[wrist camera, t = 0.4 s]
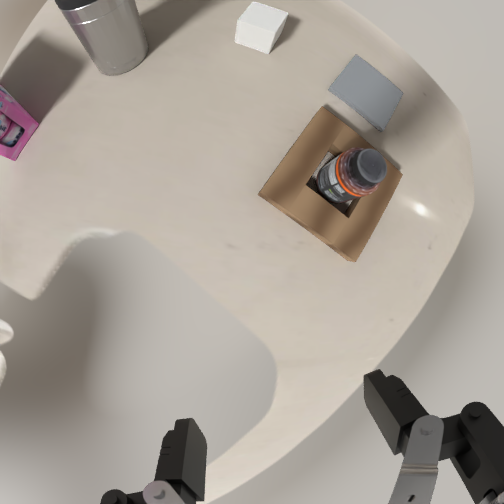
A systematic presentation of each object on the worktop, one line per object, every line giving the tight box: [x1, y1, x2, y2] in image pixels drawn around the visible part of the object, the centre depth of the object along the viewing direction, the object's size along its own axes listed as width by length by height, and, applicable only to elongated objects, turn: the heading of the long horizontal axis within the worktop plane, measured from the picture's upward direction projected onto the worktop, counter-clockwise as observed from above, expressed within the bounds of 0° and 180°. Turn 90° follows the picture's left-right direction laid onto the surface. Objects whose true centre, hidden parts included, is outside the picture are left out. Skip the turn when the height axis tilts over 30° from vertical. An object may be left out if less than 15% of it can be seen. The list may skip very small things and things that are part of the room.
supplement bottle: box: [316, 147, 387, 203], centre depth 33 cm, size 6×6×11 cm
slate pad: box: [328, 55, 403, 132], centre depth 38 cm, size 11×11×1 cm
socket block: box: [258, 107, 403, 262], centre depth 37 cm, size 16×16×2 cm
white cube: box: [235, 1, 289, 54], centre depth 33 cm, size 6×6×6 cm
